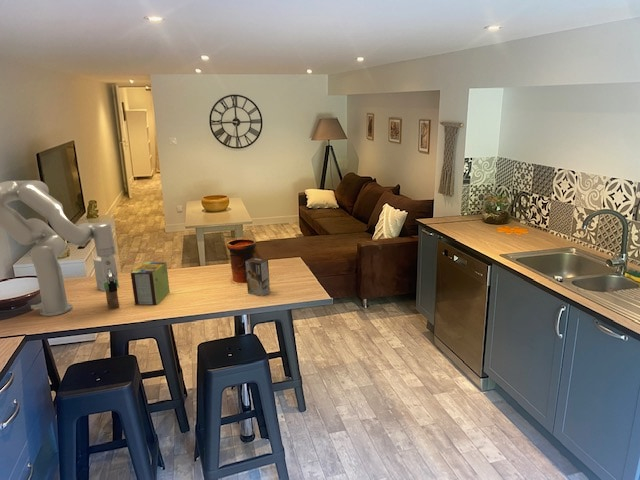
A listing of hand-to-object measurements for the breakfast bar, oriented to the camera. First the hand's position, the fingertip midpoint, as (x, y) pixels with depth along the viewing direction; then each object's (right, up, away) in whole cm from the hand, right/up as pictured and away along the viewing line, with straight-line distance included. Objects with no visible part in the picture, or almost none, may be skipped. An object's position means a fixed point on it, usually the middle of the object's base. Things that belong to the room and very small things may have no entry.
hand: (112, 288), depth 211 cm
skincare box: (-13, -3, +25) cm, 29 cm away
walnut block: (-1, -9, +2) cm, 9 cm away
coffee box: (+63, -4, +15) cm, 65 cm away
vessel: (+53, +1, +33) cm, 62 cm away
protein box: (+14, -6, +11) cm, 19 cm away
